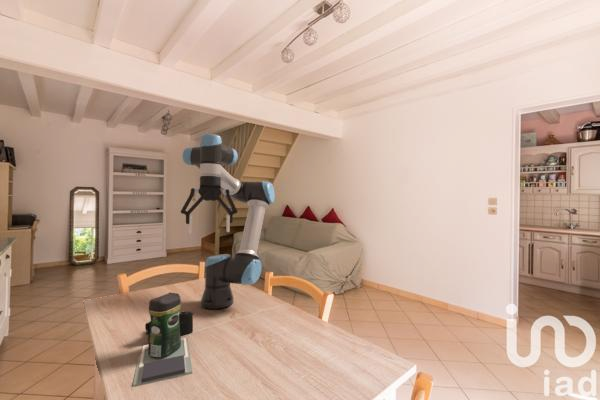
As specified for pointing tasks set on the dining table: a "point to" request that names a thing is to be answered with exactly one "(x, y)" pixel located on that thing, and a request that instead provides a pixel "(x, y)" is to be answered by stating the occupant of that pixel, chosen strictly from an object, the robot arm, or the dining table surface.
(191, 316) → the film camera
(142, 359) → the board
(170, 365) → the pad
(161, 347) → the coffee jar
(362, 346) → the dining table surface
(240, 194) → the robot arm
